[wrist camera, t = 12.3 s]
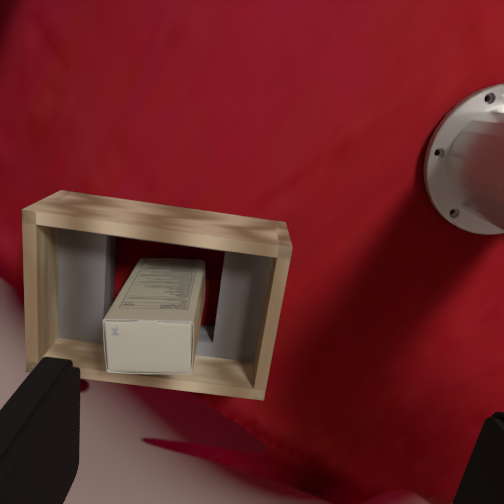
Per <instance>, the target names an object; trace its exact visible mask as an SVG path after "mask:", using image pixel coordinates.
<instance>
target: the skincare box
mask: <svg viewBox="0 0 504 504" xmlns="http://www.w3.org/2000/svg"><path fill="white" fill-rule="evenodd" d="M205 282H206V262H205V261H204V260H198V259H179V258H140V260H139V261H138V263H137V265H136V266H135V268H134V269H133V271H132V273H131V274H130V276H129V278H128V279H127V281H126V283H125V284H124V286H123V288H122V289H121V291H120V293H119V294H118V296H117V298H116V299H115V301H114V303H113V304H112V306H111V307H110V309H109V311H108V312H107V314H106V316H105V317H104V319H103V339H104V353H105V362H106V370H107V372H110V373H125V374H192V371H193V365H194V359H195V353H196V347H197V342H198V336H199V330H200V324H201V318H202V313H203V307H204V301H205Z"/></svg>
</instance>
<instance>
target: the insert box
mask: <svg viewBox="0 0 504 504" xmlns="http://www.w3.org/2000/svg"><path fill="white" fill-rule="evenodd" d="M22 230H23V267H24V305H25V341H26V342H25V343H26V372H31V371H32V370H33V369H34V368H35V367H36V365H37V364H38V363H39V362H40V360H41V359H42V358H43V357H54V358H62V359H70V360H72V362H73V367H79V368H80V378H81V379H90V380H98V381H106V382H115V383H123V384H131V385H140V386H148V387H156V388H164V389H173V390H181V391H189V392H198V393H206V394H214V395H223V396H231V397H239V398H247V399H256V400H264V396H265V391H266V385H267V380H268V375H269V369H270V364H271V359H272V354H273V348H274V343H275V338H276V332H277V327H278V322H279V316H280V311H281V306H282V301H283V295H284V290H285V285H286V279H287V274H288V269H289V263H290V258H291V253H292V244H291V240H290V236H289V233H288V229H287V226H286V222H280V221H273V220H266V219H259V218H252V217H245V216H238V215H231V214H224V213H217V212H210V211H203V210H196V209H189V208H182V207H175V206H168V205H161V204H154V203H147V202H140V201H133V200H126V199H119V198H112V197H105V196H98V195H91V194H84V193H76V192H69V191H62V190H61V191H59V192H57V193H55V194H52V195H50V196H48V197H46V198H44V199H42V200H40V201H38V202H36V203H34V204H32V205H30V206H28V207H26V208H24V209H22ZM116 237H123V238H130V239H138V240H145V241H152V242H159V243H167V244H174V245H181V246H188V247H196V248H203V249H210V250H217V251H225V256H224V264H223V271H222V279H221V286H220V293H219V301H218V308H217V316H216V323H215V327H211V326H203V325H200V330H199V336H198V342H197V347H196V353H195V359H194V365H193V371H192V374H125V373H110V372H107V370H106V362H105V353H104V339H103V319H104V317H105V316H106V314H107V312H108V311H109V309H110V307H111V306H112V304H113V298H114V277H115V256H116Z"/></svg>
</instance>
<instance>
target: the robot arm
mask: <svg viewBox="0 0 504 504" xmlns="http://www.w3.org/2000/svg"><path fill="white" fill-rule="evenodd" d="M485 96H487V100H486V101H484V100H485ZM436 150H438V153H437V154H436V155H434V152H435V151H436ZM423 170H424V183H425V187H426V191H427V194H428V197H429V199H430V200H431V202H432V204H433V206H434V207H435V209H436V210H437V211H438V212H439V214H440V215H441V216H442V217H444V218H445V219H446V220H448V221H449V222H450V223H452V224H453V225H455V226H457V227H459V228H460V229H463V230H466V231H468V232H471V233H477V234H484V235H492V234H502V233H504V83H503V84H498V85H494V86H489V87H486V88H483V89H481V90H479V91H477V92H475V93H472V94H471V95H469V96H468V97H466V98H465V99H463V100H462V101H460V102H459V103H458V104H456V105H455V106H454V107H453V108H452V109H451V110H450V111H449V112H448V113H447V114H446V115H445V117H444V118H443V119H442V121H441V122H440V123H439V125H438V126H437V128H436V129H435V131H434V133H433V135H432V137H431V139H430V141H429V144H428V148H427V151H426V154H425V160H424V168H423ZM452 209H453V211H452V213H450V211H451V210H452ZM79 429H80V368H79V367H73V362H72V360H70V359H62V358H54V357H43V358H42V359H41V360H40V362H39V363H38V364H37V365H36V367H35V368H34V369H33V370H32V371H31V373H30V374H29V375H28V376H27V378H26V379H25V380H24V381H23V383H22V384H21V385H20V386H19V388H18V389H17V390H16V391H15V393H14V394H13V395H12V396H11V398H10V399H9V400H8V401H7V403H6V404H5V405H4V406H3V408H2V409H1V410H0V504H63V502H64V501H65V498H66V496H67V494H68V492H69V489H70V488H71V485H72V483H73V481H74V479H75V476H76V473H77V470H78V465H79V434H80V433H79V432H80V431H79ZM453 504H504V412H495V413H494V414H493V415H492V416H491V417H489V418H487V419H486V420H485V422H484V424H483V426H482V429H481V432H480V434H479V437H478V439H477V442H476V444H475V447H474V449H473V452H472V455H471V457H470V460H469V462H468V465H467V467H466V470H465V472H464V475H463V477H462V480H461V483H460V485H459V488H458V490H457V493H456V495H455V498H454V500H453Z"/></svg>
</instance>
